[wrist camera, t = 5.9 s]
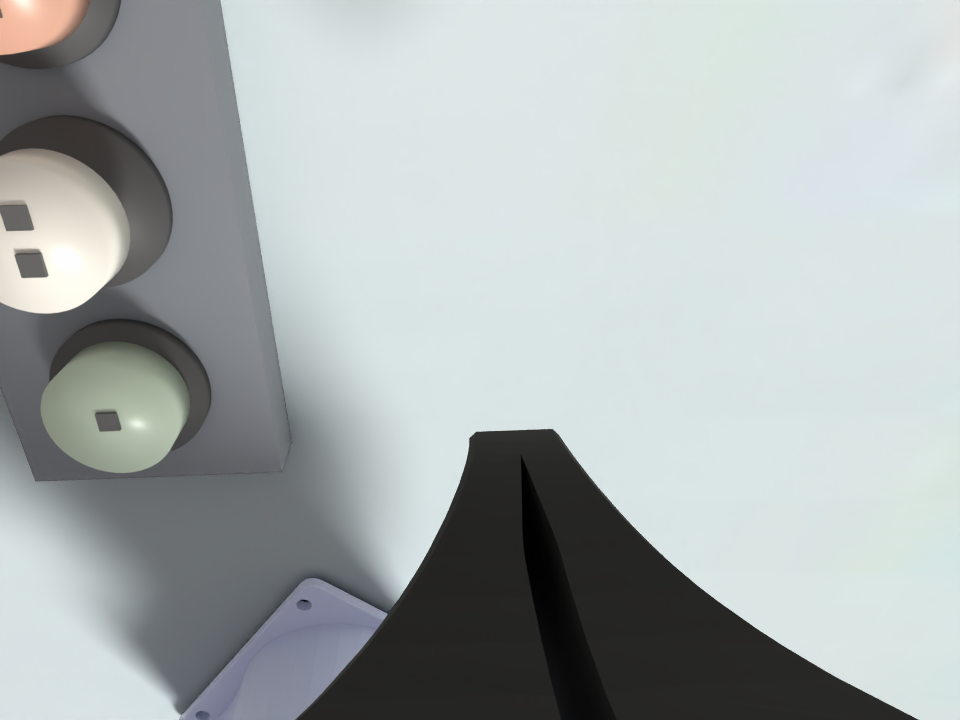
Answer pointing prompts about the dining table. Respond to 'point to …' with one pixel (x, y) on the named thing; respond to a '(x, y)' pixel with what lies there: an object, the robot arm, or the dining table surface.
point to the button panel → (153, 232)
